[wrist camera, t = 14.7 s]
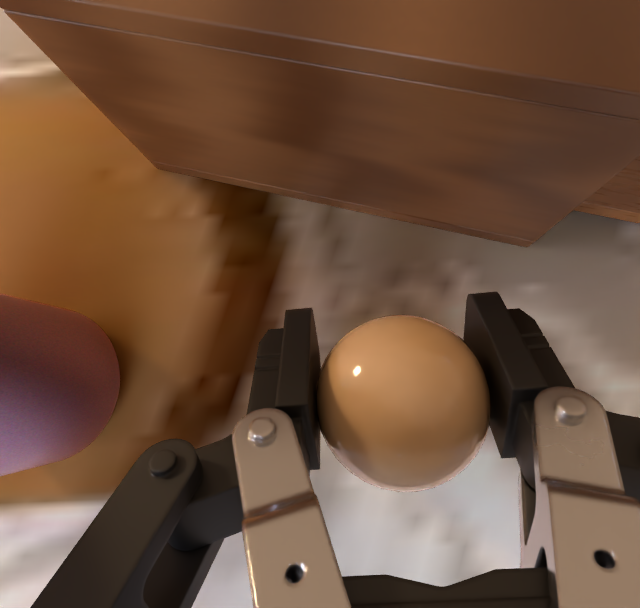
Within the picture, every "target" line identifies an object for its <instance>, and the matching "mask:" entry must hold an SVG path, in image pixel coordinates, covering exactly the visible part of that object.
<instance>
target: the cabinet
mask: <svg viewBox="0 0 640 608" xmlns="http://www.w3.org/2000/svg"><path fill="white" fill-rule="evenodd" d="M0 7H1V8H2V9H4V12H5V13H6V14H7V15H8V16H9V17H10V18H11V19H12V20H13V21H14V22H15V23H16V24H17V25H18V26H19V27H20V28H21V29H22V31H23V32H24V33H25V34H26V35H27V36H28V37H29V38H30V39H31V40H32V41H33V42H34V43H35V44H36V45H37V46H38V47H39V48H40V49H41V50H42V51H43V52H44V53H45V54H46V55H47V56H48V57H49V58H50V59H51V60H52V61H53V62H54V63H55V64H56V65H57V66H58V67H59V68H60V70H61V71H62V72H63V73H64V74H65V75H66V76H67V77H68V78H69V79H70V80H71V81H72V82H73V83H74V84H75V85H76V86H77V87H78V88H79V89H80V90H81V91H82V92H83V93H84V94H85V95H86V96H87V97H88V98H89V99H90V100H91V101H92V102H93V103H94V104H95V105H96V106H97V107H98V108H99V110H100V111H101V112H102V113H103V114H104V115H105V116H106V117H107V118H108V119H109V120H110V121H111V122H112V123H113V124H114V125H115V126H116V127H117V128H118V129H119V130H120V131H121V132H122V133H123V134H124V135H125V136H126V137H127V138H128V139H129V140H130V141H131V142H132V143H133V144H134V145H135V146H136V147H137V148H138V150H139V151H140V152H141V153H142V154H143V155H144V156H145V157H146V158H147V159H148V160H150V162H151V163H152V164H153V165H154V166H155V167H156V168H158V169H162V170H166V171H171V172H176V173H180V174H185V175H190V176H195V177H199V178H204V179H209V180H213V181H218V182H223V183H227V184H232V185H237V186H241V187H246V188H251V189H256V190H260V191H265V192H270V193H274V194H279V195H284V196H288V197H293V198H298V199H302V200H307V201H312V202H317V203H321V204H326V205H331V206H335V207H340V208H345V209H349V210H354V211H359V212H363V213H368V214H373V215H378V216H382V217H387V218H392V219H396V220H401V221H406V222H410V223H415V224H420V225H424V226H429V227H434V228H438V229H443V230H448V231H453V232H457V233H462V234H467V235H471V236H476V237H481V238H485V239H490V240H495V241H499V242H504V243H509V244H514V245H518V246H523V247H529V246H530V245H531V244H532V243H534V241H536V240H538V239H539V238H540V237H541V236H542V235H544V234H545V233H546V232H547V231H548V230H550V229H551V228H552V227H553V226H555V225H556V224H557V223H558V222H559V221H561V220H562V219H563V218H564V217H565V216H567V215H568V214H569V213H570V212H572V211H573V210H574V209H575V208H576V207H578V206H579V205H580V204H581V203H582V202H584V201H585V200H586V199H587V198H589V197H590V196H591V195H592V194H593V193H595V192H596V191H597V190H598V189H599V188H601V187H602V186H603V185H604V184H606V183H607V182H608V181H609V180H610V179H612V178H613V177H614V176H615V175H616V174H618V173H619V172H620V171H621V170H623V169H624V168H625V167H626V166H627V165H629V164H630V163H631V162H632V161H633V160H635V159H636V158H637V157H638V156H640V0H0Z"/></svg>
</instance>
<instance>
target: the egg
mask: <svg viewBox="0 0 640 608" xmlns="http://www.w3.org/2000/svg"><path fill="white" fill-rule="evenodd" d="M491 408H492V404H491V394H490V387H489V384H488V380H487V377H486V374H485V371H484V369H483V367H482V365H481V363H480V362H479V360H478V358H477V356H476V355H475V353H474V352H473V351H472V350H471V348H470V347H469V346H468V345H467V343H466V342H465V341H463V340H462V339H461V338H460V337H459V336H458V335H456V334H455V333H454V332H453V331H451V330H450V329H448V328H446V327H444V326H443V325H441V324H439V323H437V322H434V321H431V320H429V319H426V318H423V317H417V316H410V315H389V316H384V317H380V318H376V319H372V320H370V321H368V322H365V323H363V324H361V325H359V326H357V327H356V328H354V329H353V330H351V331H350V332H349V333H347V334H346V335H345V336H344V337H343V338H342V339H341V340H339V342H338V343H337V344H336V345H335V346H334V347H333V348H332V350H331V351H330V352H329V354H328V355H327V357H326V359H325V361H324V363H323V365H322V367H321V371H320V374H319V378H318V382H317V388H316V413H317V417H318V421H319V426H320V430H321V432H322V434H323V437H324V439H325V441H326V443H327V445H328V447H329V448H330V450H331V451H332V453H333V454H334V456H335V457H336V458H337V460H338V461H339V462H340V463H341V464H342V465H343V466H344V467H345V468H346V469H347V470H348V471H349V472H351V473H352V474H354V475H355V476H357V477H358V478H360V479H361V480H363V481H364V482H366V483H369V484H371V485H374V486H376V487H379V488H381V489H386V490H391V491H397V492H418V491H422V490H426V489H431V488H435V487H437V486H439V485H441V484H443V483H445V482H448V481H450V480H451V479H453V478H454V477H455V476H457V475H458V474H459V473H461V472H462V471H463V470H465V468H466V467H467V466H468V465H469V464H470V463H471V462H472V460H473V459H474V458H475V457H476V456H477V454H478V452H479V450H480V448H481V447H482V445H483V443H484V441H485V438H486V435H487V432H488V429H489V425H490V418H491Z"/></svg>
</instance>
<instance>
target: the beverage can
mask: <svg viewBox="0 0 640 608" xmlns="http://www.w3.org/2000/svg"><path fill="white" fill-rule="evenodd" d="M119 387H120V371H119V364H118V359H117V356H116V353H115V350H114V348H113V345H112V343H111V342H110V340H109V338H108V337H107V335H106V334H105V333H104V331H103V330H102V329H101V328H100V327H99V326H98V325H97V324H96V323H95V322H93V321H92V320H91V319H89V318H88V317H86V316H84V315H82V314H80V313H77V312H75V311H71V310H67V309H63V308H59V307H55V306H51V305H47V304H43V303H39V302H34V301H30V300H26V299H22V298H18V297H14V296H10V295H6V294H1V293H0V476H3V475H7V474H11V473H15V472H19V471H23V470H26V469H30V468H34V467H38V466H42V465H46V464H50V463H54V462H57V461H61V460H64V459H66V458H69V457H71V456H73V455H75V454H77V453H78V452H80V451H81V450H83V449H84V448H86V447H87V446H88V445H89V444H90V443H91V442H93V441H94V440H95V439H96V437H97V436H98V435H99V434H100V433H101V432H102V430H103V429H104V427H105V426H106V424H107V423H108V421H109V419H110V417H111V415H112V413H113V410H114V408H115V405H116V402H117V398H118V394H119Z"/></svg>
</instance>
